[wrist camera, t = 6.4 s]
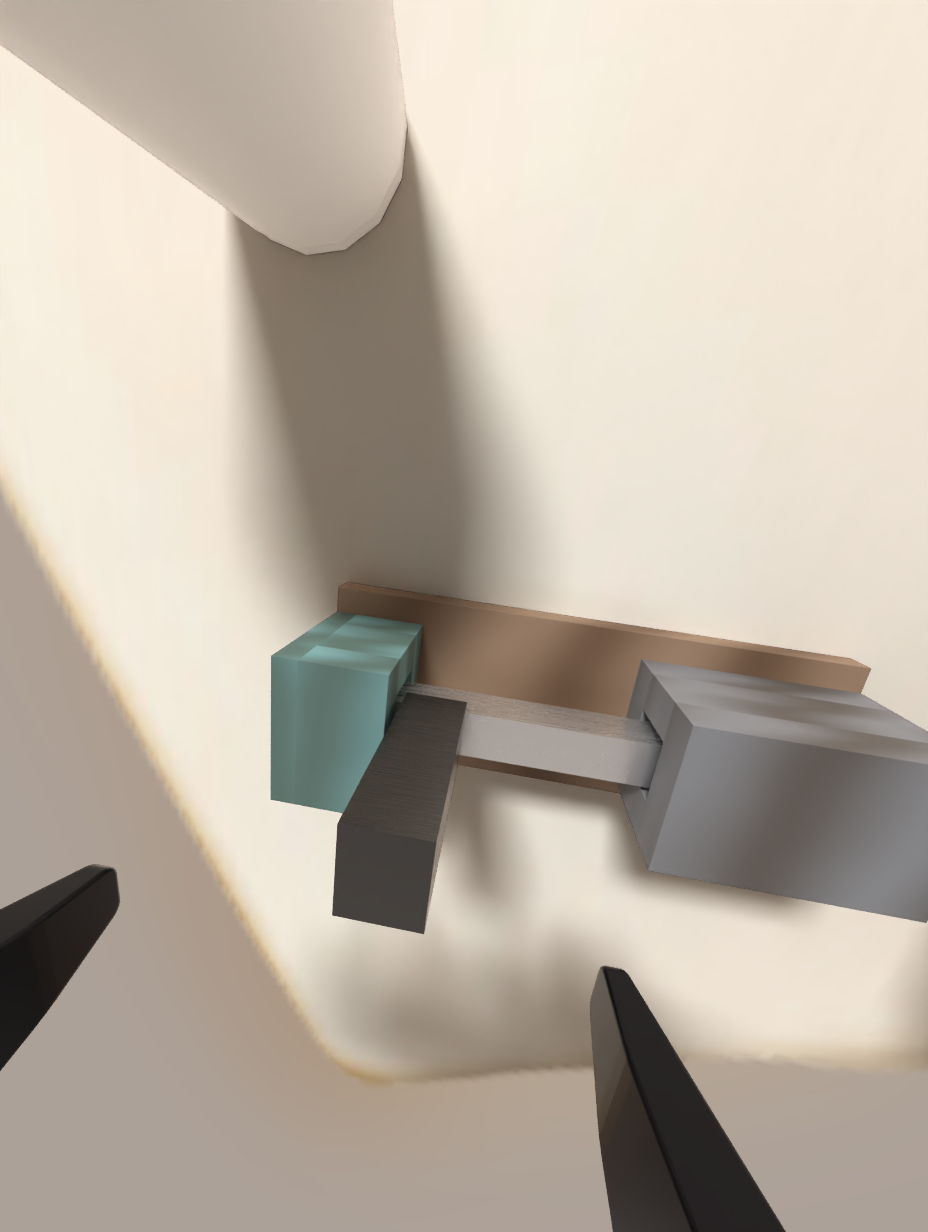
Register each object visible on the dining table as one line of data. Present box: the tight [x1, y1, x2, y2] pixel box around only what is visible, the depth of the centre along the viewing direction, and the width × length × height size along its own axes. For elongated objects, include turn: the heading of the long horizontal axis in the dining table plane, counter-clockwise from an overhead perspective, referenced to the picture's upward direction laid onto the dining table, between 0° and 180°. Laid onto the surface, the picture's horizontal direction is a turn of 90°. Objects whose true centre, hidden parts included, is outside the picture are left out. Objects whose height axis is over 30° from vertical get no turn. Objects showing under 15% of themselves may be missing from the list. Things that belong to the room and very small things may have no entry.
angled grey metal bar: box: [332, 681, 663, 934], centre depth 12 cm, size 13×2×8 cm, turn 82°
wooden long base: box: [271, 582, 928, 923], centre depth 16 cm, size 20×7×6 cm, turn 82°
